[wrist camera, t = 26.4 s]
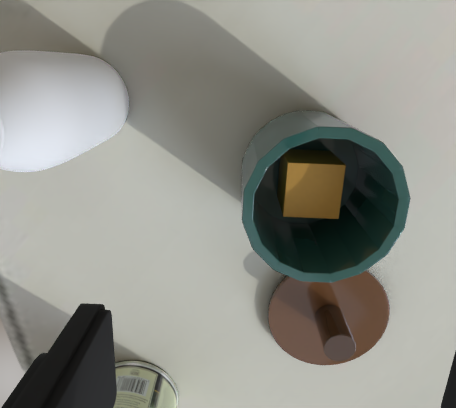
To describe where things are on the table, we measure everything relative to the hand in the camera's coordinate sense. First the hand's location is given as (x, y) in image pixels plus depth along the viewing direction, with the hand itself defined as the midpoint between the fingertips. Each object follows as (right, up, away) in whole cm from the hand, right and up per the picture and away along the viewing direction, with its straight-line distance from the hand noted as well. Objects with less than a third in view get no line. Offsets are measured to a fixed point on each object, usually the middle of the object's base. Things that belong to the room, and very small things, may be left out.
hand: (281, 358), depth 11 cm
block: (+6, +7, +27) cm, 28 cm away
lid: (+9, -7, +32) cm, 34 cm away
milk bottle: (-14, +14, +26) cm, 32 cm away
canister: (+6, +7, +27) cm, 29 cm away
